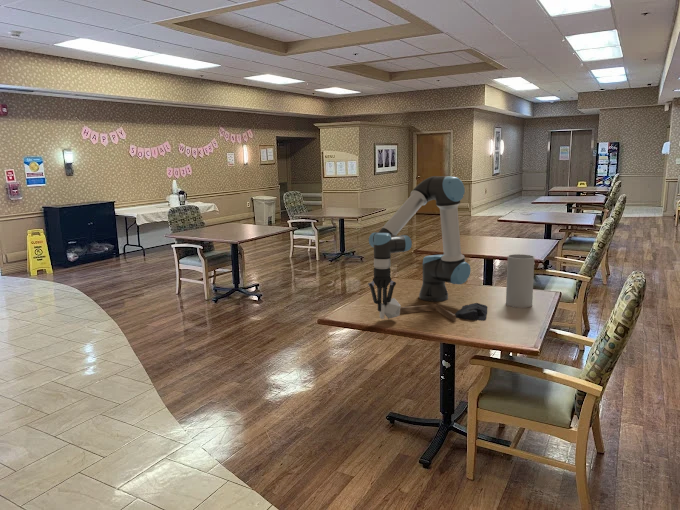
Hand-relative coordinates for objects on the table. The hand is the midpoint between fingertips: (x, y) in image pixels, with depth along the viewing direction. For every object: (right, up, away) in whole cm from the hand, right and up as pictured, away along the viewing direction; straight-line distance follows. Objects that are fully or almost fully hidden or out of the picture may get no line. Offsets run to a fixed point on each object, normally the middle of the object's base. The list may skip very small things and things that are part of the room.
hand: (382, 317), depth 238 cm
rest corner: (+21, 0, +6) cm, 22 cm away
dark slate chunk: (+44, 0, +10) cm, 45 cm away
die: (+3, -1, +1) cm, 3 cm away
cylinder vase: (+71, +3, +23) cm, 74 cm away
